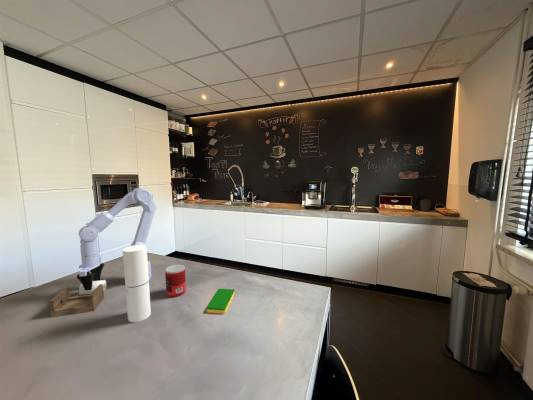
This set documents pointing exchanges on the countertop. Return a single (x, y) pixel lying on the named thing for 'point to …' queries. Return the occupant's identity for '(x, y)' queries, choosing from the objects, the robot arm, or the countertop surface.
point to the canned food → (175, 280)
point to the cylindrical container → (137, 282)
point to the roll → (94, 285)
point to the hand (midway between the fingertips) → (92, 285)
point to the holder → (75, 302)
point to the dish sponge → (221, 301)
